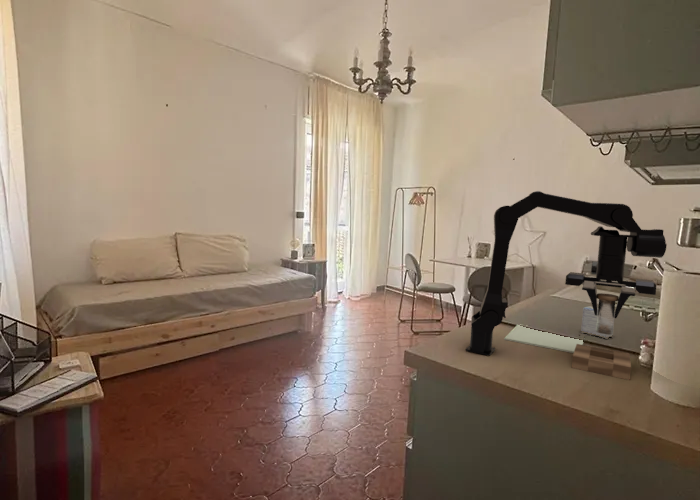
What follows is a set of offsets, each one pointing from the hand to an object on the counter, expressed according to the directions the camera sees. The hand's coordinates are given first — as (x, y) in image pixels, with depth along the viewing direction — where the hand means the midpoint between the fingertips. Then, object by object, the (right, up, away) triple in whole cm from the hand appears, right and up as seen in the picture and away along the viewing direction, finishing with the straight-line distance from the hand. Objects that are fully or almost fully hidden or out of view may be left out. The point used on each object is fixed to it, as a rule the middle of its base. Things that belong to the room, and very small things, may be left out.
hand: (605, 316), depth 102 cm
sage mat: (-4, -11, +24) cm, 26 cm away
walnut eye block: (-1, -13, +1) cm, 13 cm away
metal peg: (0, -4, 0) cm, 4 cm away
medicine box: (+15, -11, +29) cm, 35 cm away
